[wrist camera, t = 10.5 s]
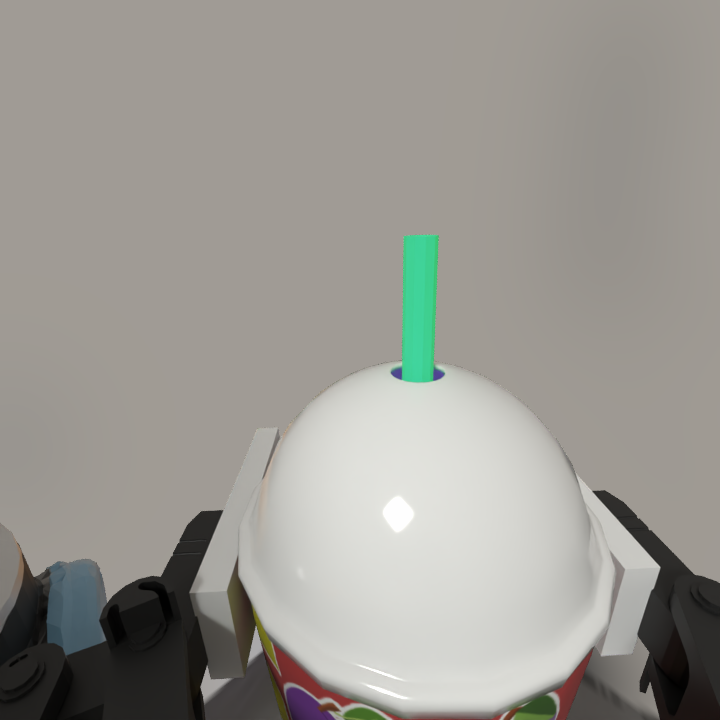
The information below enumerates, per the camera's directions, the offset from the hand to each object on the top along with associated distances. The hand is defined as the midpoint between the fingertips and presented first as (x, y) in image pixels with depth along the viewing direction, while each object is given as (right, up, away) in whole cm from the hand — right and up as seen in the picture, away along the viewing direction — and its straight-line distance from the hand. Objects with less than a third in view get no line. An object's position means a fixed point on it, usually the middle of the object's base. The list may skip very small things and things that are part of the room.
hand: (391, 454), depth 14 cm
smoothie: (+1, -13, 0) cm, 13 cm away
